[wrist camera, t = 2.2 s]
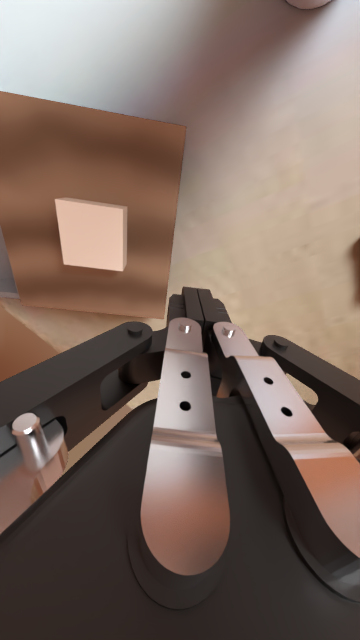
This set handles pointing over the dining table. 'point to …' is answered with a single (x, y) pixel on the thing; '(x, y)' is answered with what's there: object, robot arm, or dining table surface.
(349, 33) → the dining table surface
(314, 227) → the dining table surface
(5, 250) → the box
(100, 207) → the tile
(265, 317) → the dining table surface
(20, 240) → the brown wooden box
